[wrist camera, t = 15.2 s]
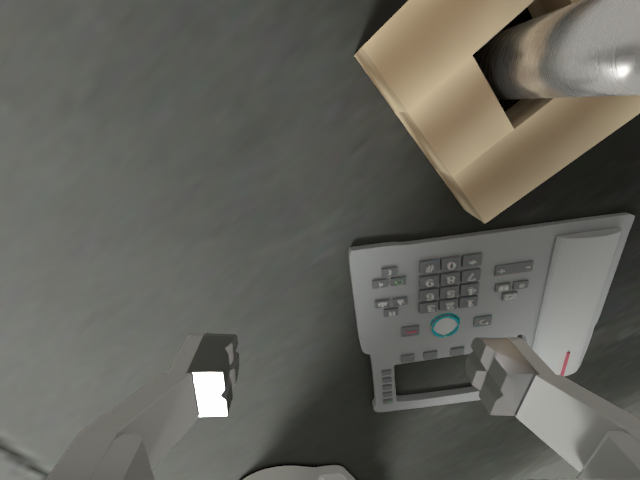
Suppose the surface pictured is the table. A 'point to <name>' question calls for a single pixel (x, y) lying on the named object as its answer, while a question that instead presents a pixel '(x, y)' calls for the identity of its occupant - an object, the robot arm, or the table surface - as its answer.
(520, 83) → the peg
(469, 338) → the office telephone
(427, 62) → the socket block
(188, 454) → the table surface
